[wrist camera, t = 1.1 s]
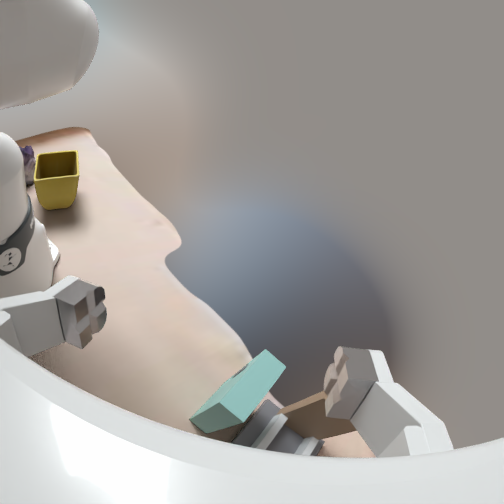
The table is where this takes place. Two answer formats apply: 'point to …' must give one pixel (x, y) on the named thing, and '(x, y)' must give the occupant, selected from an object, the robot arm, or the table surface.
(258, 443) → the track base
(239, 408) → the teal rectangular block
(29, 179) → the geode
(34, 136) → the table surface
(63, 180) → the flower pot
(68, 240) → the table surface
